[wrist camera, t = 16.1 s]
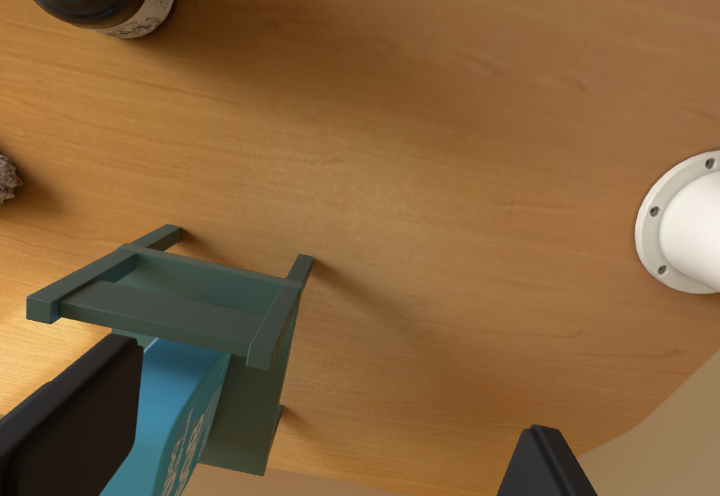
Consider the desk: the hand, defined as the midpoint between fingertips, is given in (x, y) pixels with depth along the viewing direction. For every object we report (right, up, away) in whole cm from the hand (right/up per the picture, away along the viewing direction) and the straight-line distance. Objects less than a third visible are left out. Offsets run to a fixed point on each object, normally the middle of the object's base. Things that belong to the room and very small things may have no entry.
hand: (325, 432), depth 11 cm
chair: (-12, -3, +33) cm, 35 cm away
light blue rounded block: (-13, -6, +26) cm, 29 cm away
